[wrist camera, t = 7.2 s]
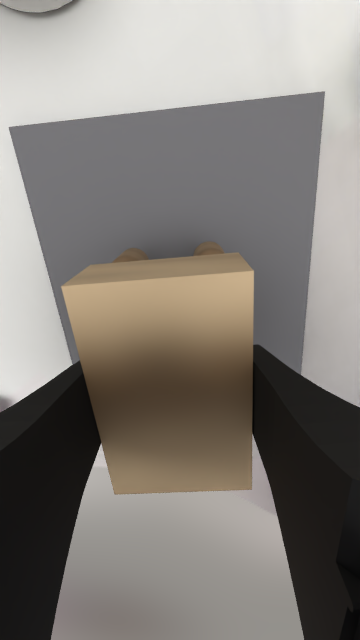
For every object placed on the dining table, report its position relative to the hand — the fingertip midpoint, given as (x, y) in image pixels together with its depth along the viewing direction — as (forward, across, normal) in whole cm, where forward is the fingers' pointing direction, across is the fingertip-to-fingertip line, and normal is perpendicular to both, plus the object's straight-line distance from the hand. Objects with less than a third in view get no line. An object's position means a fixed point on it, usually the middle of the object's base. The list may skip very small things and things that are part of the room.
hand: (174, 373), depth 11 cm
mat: (+9, 0, 0) cm, 9 cm away
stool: (+4, 0, 0) cm, 4 cm away
